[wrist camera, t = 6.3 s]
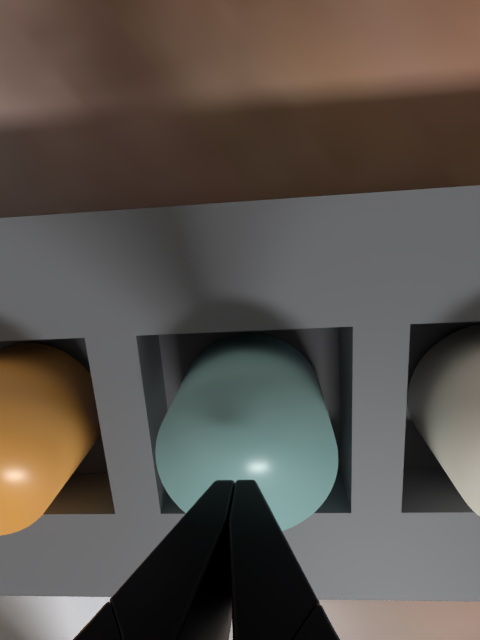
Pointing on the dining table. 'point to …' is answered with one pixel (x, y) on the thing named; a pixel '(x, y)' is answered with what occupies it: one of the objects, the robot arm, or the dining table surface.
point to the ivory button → (451, 408)
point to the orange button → (41, 428)
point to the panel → (253, 318)
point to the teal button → (250, 428)
